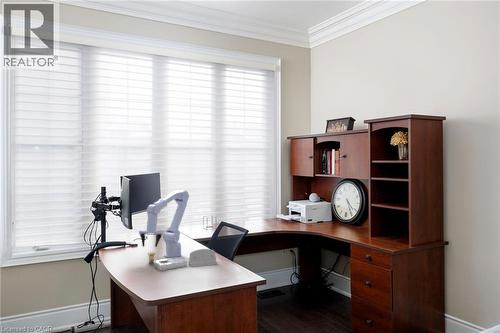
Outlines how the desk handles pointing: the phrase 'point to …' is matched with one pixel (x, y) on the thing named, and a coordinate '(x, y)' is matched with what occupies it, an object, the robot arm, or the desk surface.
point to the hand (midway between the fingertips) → (149, 246)
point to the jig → (170, 263)
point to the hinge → (202, 258)
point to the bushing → (151, 257)
